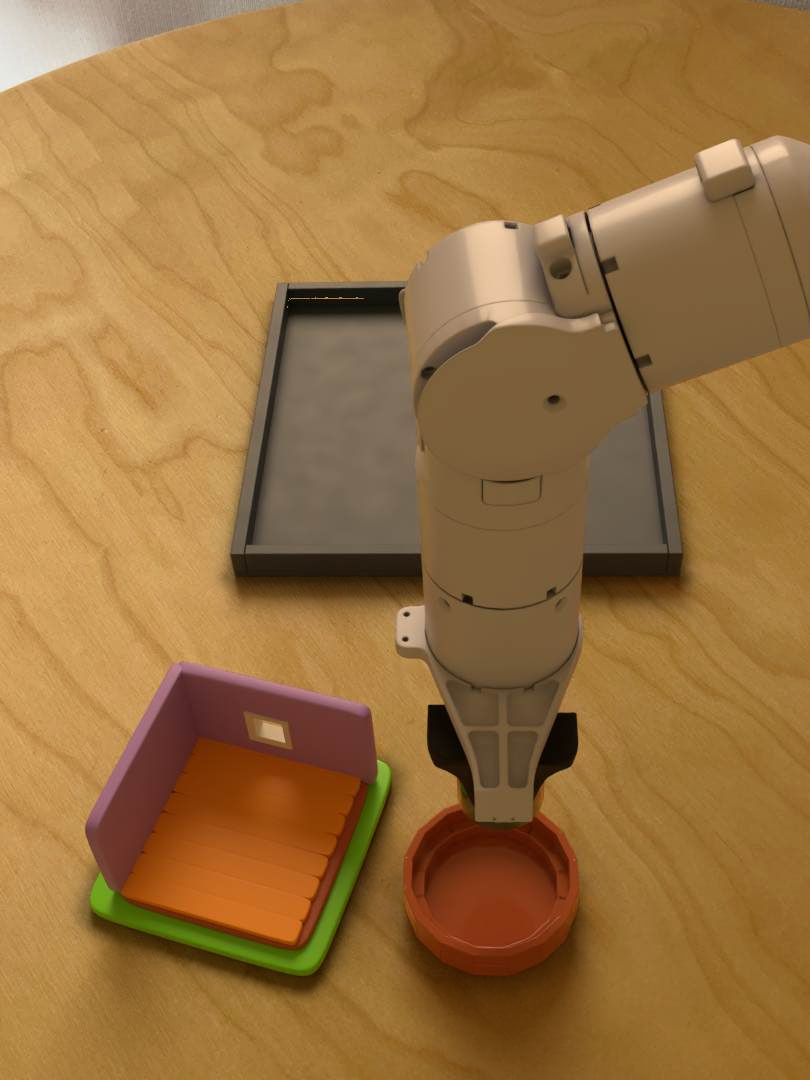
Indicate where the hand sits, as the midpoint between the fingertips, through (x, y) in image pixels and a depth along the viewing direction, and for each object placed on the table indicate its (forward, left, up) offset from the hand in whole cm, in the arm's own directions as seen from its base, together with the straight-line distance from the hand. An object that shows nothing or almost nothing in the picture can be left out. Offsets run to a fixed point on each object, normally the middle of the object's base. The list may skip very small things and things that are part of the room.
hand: (500, 762), depth 57 cm
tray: (+2, -32, -10) cm, 33 cm away
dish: (+1, +1, -10) cm, 10 cm away
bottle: (0, 0, -2) cm, 2 cm away
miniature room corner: (+12, -2, -10) cm, 16 cm away
